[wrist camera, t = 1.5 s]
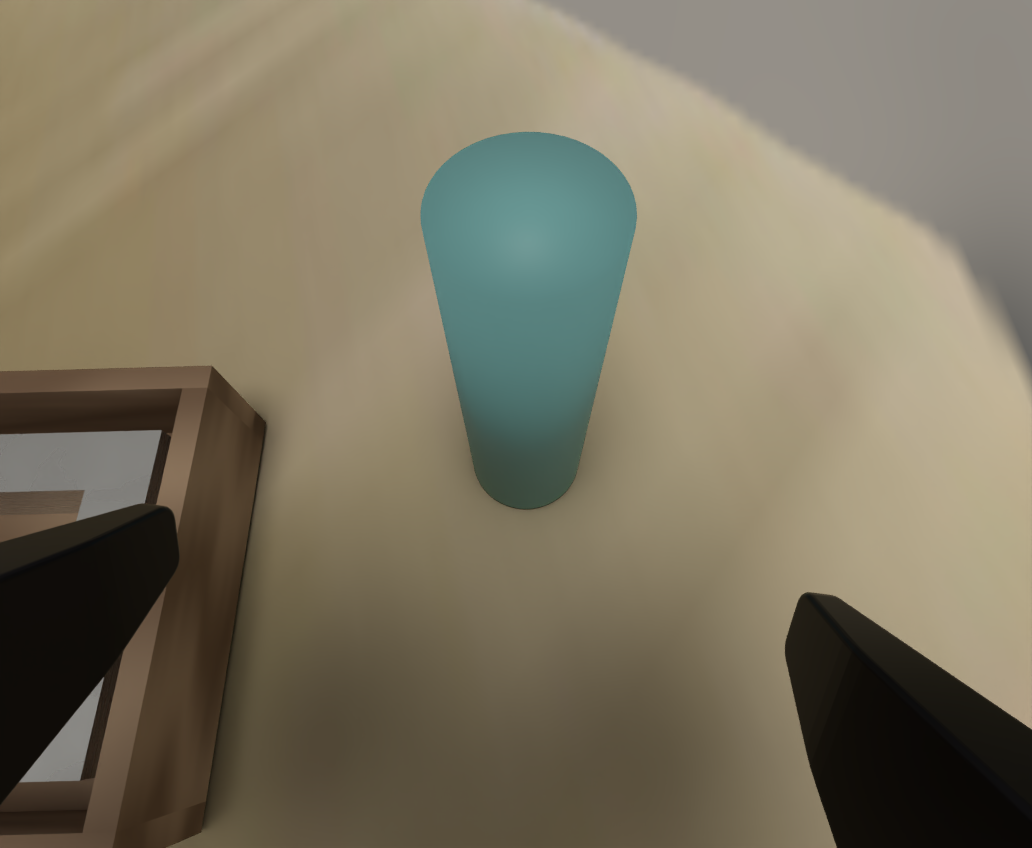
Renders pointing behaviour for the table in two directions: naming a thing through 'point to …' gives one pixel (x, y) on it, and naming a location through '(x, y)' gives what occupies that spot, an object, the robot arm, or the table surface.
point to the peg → (527, 299)
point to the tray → (175, 615)
